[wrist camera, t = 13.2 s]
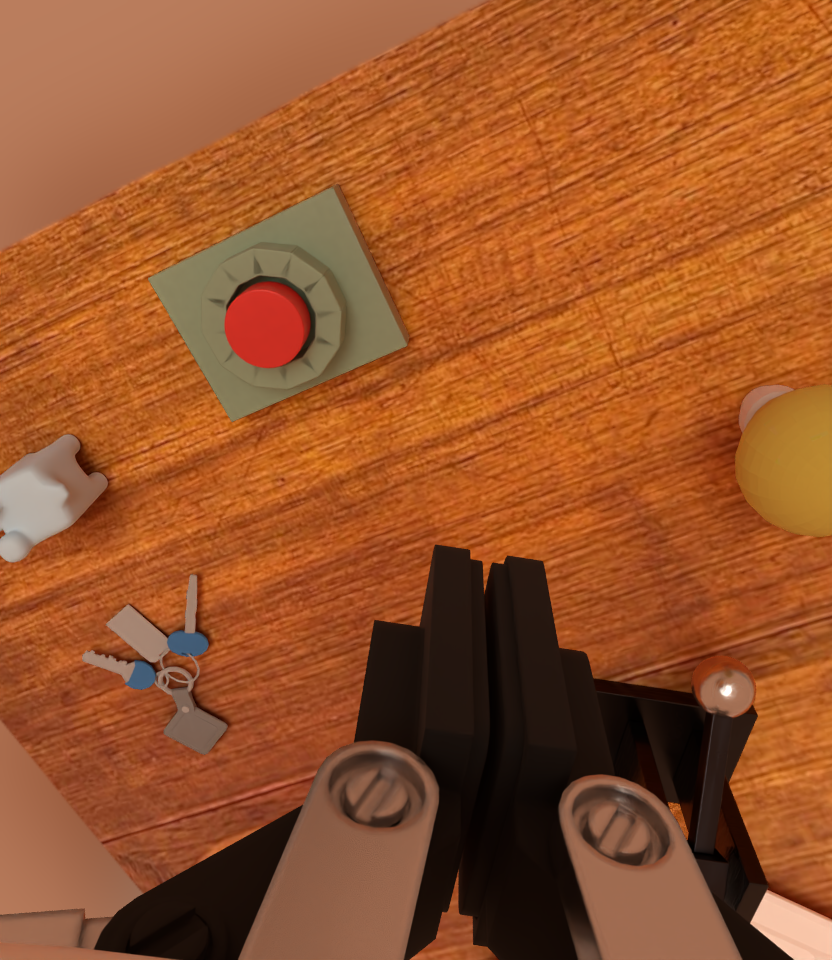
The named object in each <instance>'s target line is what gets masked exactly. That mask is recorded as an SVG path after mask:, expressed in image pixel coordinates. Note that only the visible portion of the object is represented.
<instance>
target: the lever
mask: <svg viewBox="0 0 832 960" xmlns="http://www.w3.org/2000/svg"><path fill="white" fill-rule="evenodd" d="M691 688H692V693H693V696H694V698H695V700H696V702H697V703H698V705H699V706H700V707H701V708H702V709H703V710H704V711H706V714H705V722H704V729H703V736H702V743H701V750H700V757H699V764H698V771H697V778H696V785H695V792H694V799H693V806H692V814H691V821H690V828H689V835H688V840H686V841H687V843H688V845H689V847H690V849H691V851H692V853H693V855H694V858H695V860H696V862H697V864H698V866H699V868H700V870H701V873H702V875H703V877H704V879H705V881H706V883H707V885H708V887H709V890H710V891H711V892H713V893H714V894H715V895H716V896H717V897H719V898H720V899H721V900H722V901H725V894H726V887H727V880H728V873H729V866H730V864H729V863H728V861H727V860H726V859H725V858H724V857H723V856H722V855H721V854H720V853H719V852H718V851H717V849H716V848H715V843H716V836H717V829H718V822H719V814H720V807H721V800H722V793H723V786H724V779H725V772H726V765H727V757H728V750H729V743H730V736H731V729H732V722H733V718H734V717H737V716H740V715H742V714H743V713H745V712H746V711H747V710H748V709H749V708H750V707H751V706H752V704H753V702H754V700H755V696H756V683H755V680H754V677H753V675H752V673H751V672H750V670H749V669H748V668H747V667H746V666H745V665H744V664H743V663H741V662H740V661H738V660H737V659H734V658H732V657H728V656H713V657H710V658H708V659H706V660H704V661H702V662H701V663H700V664H699V665H698V666H697V668H696V669H695V671H694V673H693V676H692V680H691Z"/></svg>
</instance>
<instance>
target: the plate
mask: <svg viewBox="0 0 832 960" xmlns="http://www.w3.org/2000/svg"><path fill="white" fill-rule="evenodd" d="M750 924H751V925H753V926H754V927H755V928H756V929H758V930H759V931H760V932H761V933H762V934H764V935H765V936H766V937H767V938H768V939H770V940H771V941H772V942H773V943H775V944H776V945H777V946H778V947H779V948H781V949H782V950H783V951H784V952H785V953H787V954H788V955H789V956H790V957H792V958H793V959H794V960H832V919H830V918H828V917H826V916H823V915H821V914H819V913H817V912H815V911H813V910H810V909H808V908H806V907H804V906H802V905H800V904H797V903H795V902H793V901H791V900H789V899H786V898H784V897H782V896H780V895H778V894H776V893H773V892H771V891H769V890H767V891H766V893H765V895H764V897H763V899H762V901H761V903H760V905H759V907H758V909H757V911H756V913H755V915H754V917H753V919H752V921H751V923H750Z"/></svg>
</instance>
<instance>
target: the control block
mask: <svg viewBox="0 0 832 960" xmlns="http://www.w3.org/2000/svg"><path fill="white" fill-rule="evenodd" d="M148 280H149V282H150V283H151V285H152V287H153V288H154V290H155V292H156V294H157V295H158V297H159V299H160V300H161V302H162V304H163V305H164V307H165V309H166V311H167V312H168V314H169V316H170V317H171V319H172V321H173V323H174V324H175V326H176V328H177V329H178V331H179V333H180V334H181V336H182V338H183V340H184V341H185V343H186V345H187V346H188V348H189V350H190V352H191V353H192V355H193V357H194V358H195V360H196V362H197V363H198V365H199V367H200V369H201V370H202V372H203V374H204V375H205V377H206V379H207V380H208V382H209V384H210V386H211V387H212V389H213V391H214V392H215V394H216V396H217V398H218V399H219V401H220V403H221V404H222V406H223V408H224V409H225V411H226V413H227V415H228V416H229V418H230V420H231V421H232V422H233V421H236V420H238V419H240V418H243V417H245V416H247V415H249V414H252V413H254V412H256V411H259V410H261V409H263V408H266V407H268V406H270V405H273V404H275V403H277V402H279V401H282V400H284V399H286V398H289V397H291V396H293V395H296V394H298V393H300V392H302V391H305V390H307V389H309V388H312V387H314V386H316V385H319V384H321V383H323V382H325V381H328V380H330V379H332V378H335V377H337V376H339V375H342V374H344V373H346V372H348V371H351V370H353V369H355V368H358V367H360V366H362V365H365V364H367V363H369V362H371V361H374V360H376V359H378V358H381V357H383V356H385V355H388V354H390V353H392V352H394V351H397V350H399V349H401V348H404V347H406V346H407V345H408V341H409V334H408V332H407V330H406V328H405V326H404V323H403V321H402V319H401V317H400V315H399V313H398V311H397V309H396V306H395V304H394V302H393V300H392V298H391V296H390V294H389V291H388V289H387V287H386V285H385V283H384V281H383V279H382V276H381V274H380V272H379V270H378V268H377V266H376V264H375V261H374V259H373V257H372V255H371V253H370V251H369V249H368V246H367V244H366V242H365V240H364V238H363V236H362V234H361V231H360V229H359V227H358V225H357V223H356V221H355V219H354V216H353V214H352V212H351V210H350V208H349V206H348V204H347V201H346V199H345V197H344V195H343V193H342V191H341V189H340V186H339V185H338V184H336V185H334V186H332V187H330V188H328V189H326V190H324V191H322V192H320V193H318V194H316V195H314V196H312V197H310V198H308V199H306V200H304V201H301V202H299V203H297V204H295V205H293V206H291V207H289V208H287V209H285V210H283V211H281V212H279V213H277V214H275V215H273V216H271V217H269V218H267V219H265V220H263V221H261V222H259V223H257V224H255V225H253V226H251V227H249V228H247V229H245V230H243V231H241V232H239V233H237V234H235V235H233V236H231V237H229V238H227V239H225V240H223V241H221V242H219V243H217V244H215V245H213V246H211V247H209V248H207V249H205V250H203V251H201V252H199V253H196V254H194V255H192V256H190V257H188V258H186V259H184V260H182V261H180V262H178V263H176V264H174V265H172V266H170V267H168V268H166V269H164V270H162V271H160V272H158V273H157V274H155V275H153V276H151V277H149V278H148ZM266 281H272V282H278V283H281V284H284V285H286V286H288V287H290V288H292V289H293V290H294V291H295V292H297V293H298V294H299V295H300V296H301V298H302V299H303V300H304V302H305V304H306V306H307V308H308V311H309V314H310V320H311V326H310V332H309V335H308V338H307V340H306V342H305V343H304V345H303V346H302V348H301V350H300V351H299V353H298V354H297V355H296V357H294V358H293V359H292V360H291V361H290V362H288V363H287V364H285V365H282V366H280V367H276V368H261V367H257V366H254V365H251V364H249V363H247V362H246V361H244V360H243V359H241V358H240V357H239V356H238V355H237V354H236V353H235V352H234V351H233V349H232V348H231V346H230V344H229V342H228V340H227V337H226V334H225V327H224V323H225V316H226V312H227V310H228V308H229V306H230V304H231V303H232V302H233V301H234V299H235V298H236V297H238V296H239V295H240V294H241V293H242V292H243V291H244V290H246V289H247V288H248V287H250V286H252V285H254V284H256V283H260V282H266Z"/></svg>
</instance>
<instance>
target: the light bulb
mask: <svg viewBox="0 0 832 960" xmlns="http://www.w3.org/2000/svg"><path fill="white" fill-rule="evenodd" d="M739 426H740V429H741V431H742V433H743V434H742V436H741V439H740V442H739V445H738V448H737V452H736V455H735V476H736V480H737V482H738V484H739V486H740V489H741V491H742V493H743V496H744V498H745V500H746V501H747V502H748V503H749V504H750V506H751V507H752V508H753V509H754V510H755V511H756V512H758V513H759V514H760V515H761V516H762V517H763V518H764V519H765V520H766V521H767V522H769V523H771V524H773V525H775V526H777V527H779V528H782V529H784V530H786V531H788V532H790V533H794V534H799V535H807V536H815V537H824V536H831V535H832V385H826V384H824V385H817V386H811V387H805V388H799V389H796V390H794V389H792V388H790V387H788V386H783V385H772V386H768V385H767V386H761V387H758V388H756V389H754V390H752V391H751V392H750V393H748V394H747V395H746V397H745V398H744V400H743V401H742V404H741V407H740V414H739Z"/></svg>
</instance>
